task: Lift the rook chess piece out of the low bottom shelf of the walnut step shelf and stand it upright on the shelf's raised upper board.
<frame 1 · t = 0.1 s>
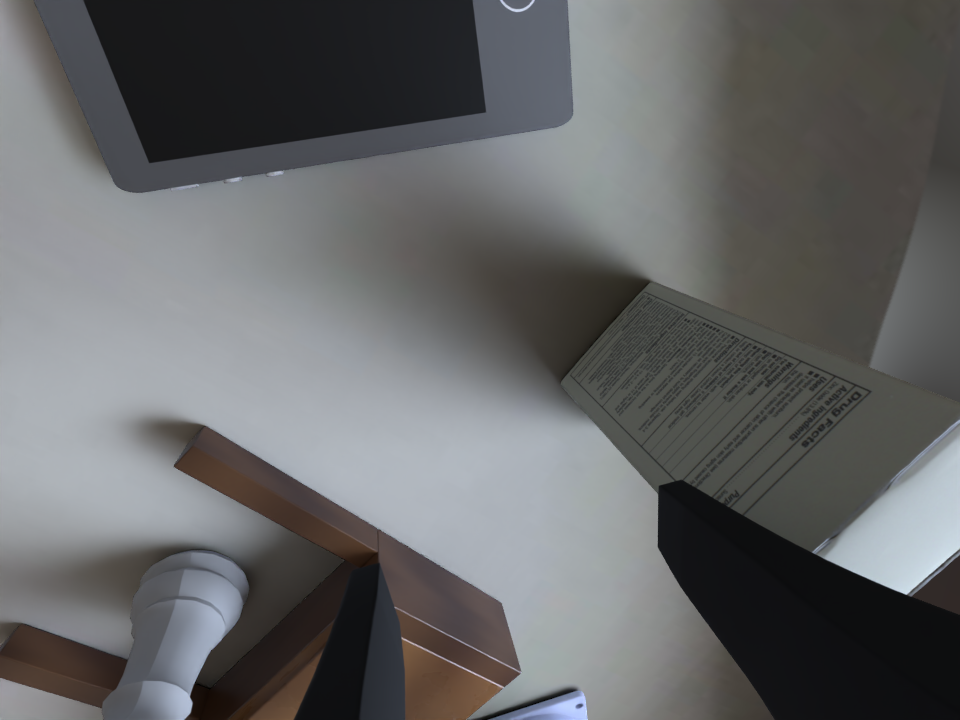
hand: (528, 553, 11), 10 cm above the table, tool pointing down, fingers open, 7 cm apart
cosmetic box: (631, 353, 22), on the table, touching gripper
rook chess piece: (200, 578, 22), on the table
smartphone: (327, 19, 15), on the table
step shelf: (282, 618, 24), on the table
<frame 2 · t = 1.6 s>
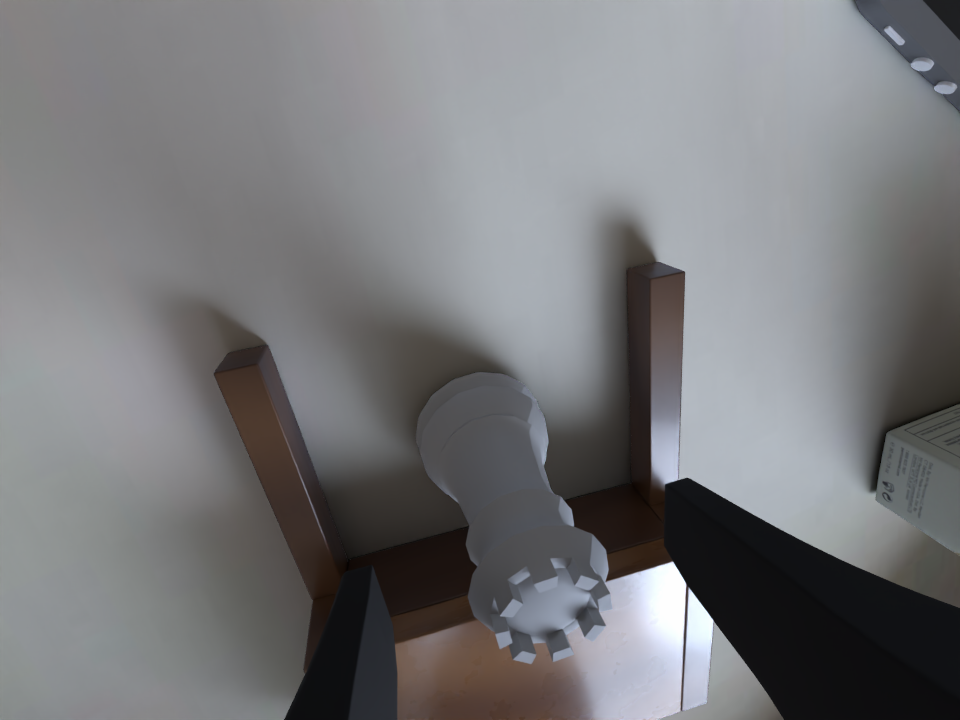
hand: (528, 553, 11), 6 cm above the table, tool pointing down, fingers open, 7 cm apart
cosmetic box: (929, 442, 23), on the table
rook chess piece: (476, 420, 17), on the table
step shelf: (494, 518, 19), on the table
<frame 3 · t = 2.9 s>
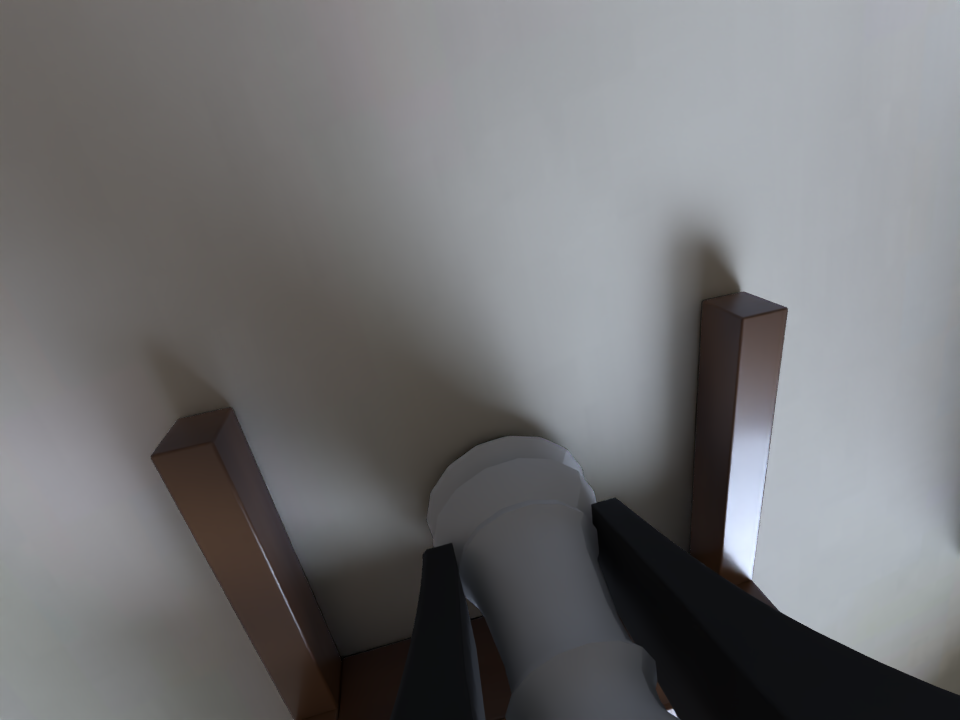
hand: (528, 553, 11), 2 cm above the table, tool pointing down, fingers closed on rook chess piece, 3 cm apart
rook chess piece: (502, 489, 13), on the table, touching gripper
step shelf: (523, 603, 15), on the table
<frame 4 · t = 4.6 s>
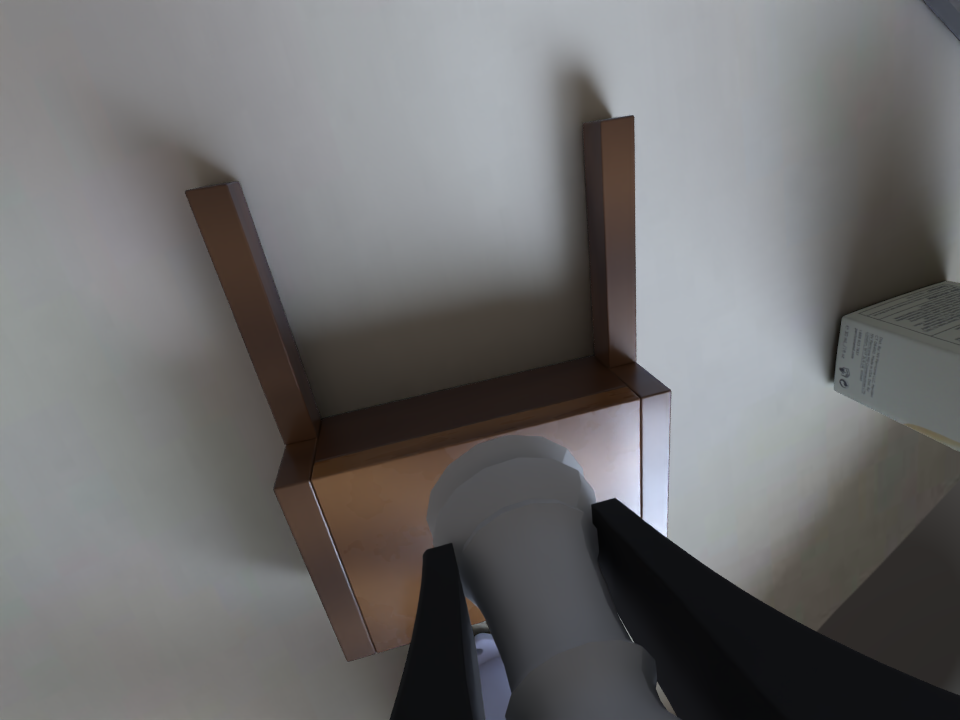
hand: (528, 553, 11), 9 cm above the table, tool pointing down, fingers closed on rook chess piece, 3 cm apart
cosmetic box: (885, 333, 24), on the table
rook chess piece: (502, 489, 13), point 7 cm above the table, touching gripper
step shelf: (462, 385, 20), on the table
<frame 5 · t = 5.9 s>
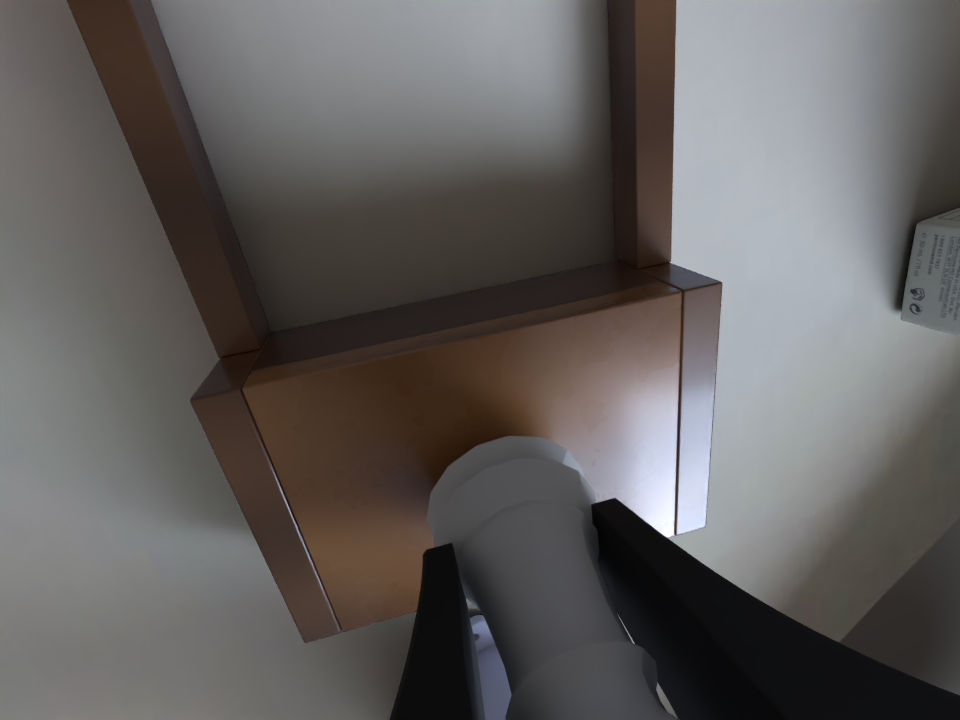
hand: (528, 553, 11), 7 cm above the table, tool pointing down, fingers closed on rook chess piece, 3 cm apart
rook chess piece: (502, 490, 13), point 5 cm above the table, touching gripper
step shelf: (451, 294, 16), on the table
when the fingers open (6 cm above the table, at t = 6.5 s): rook chess piece stays where it is, resting on step shelf.
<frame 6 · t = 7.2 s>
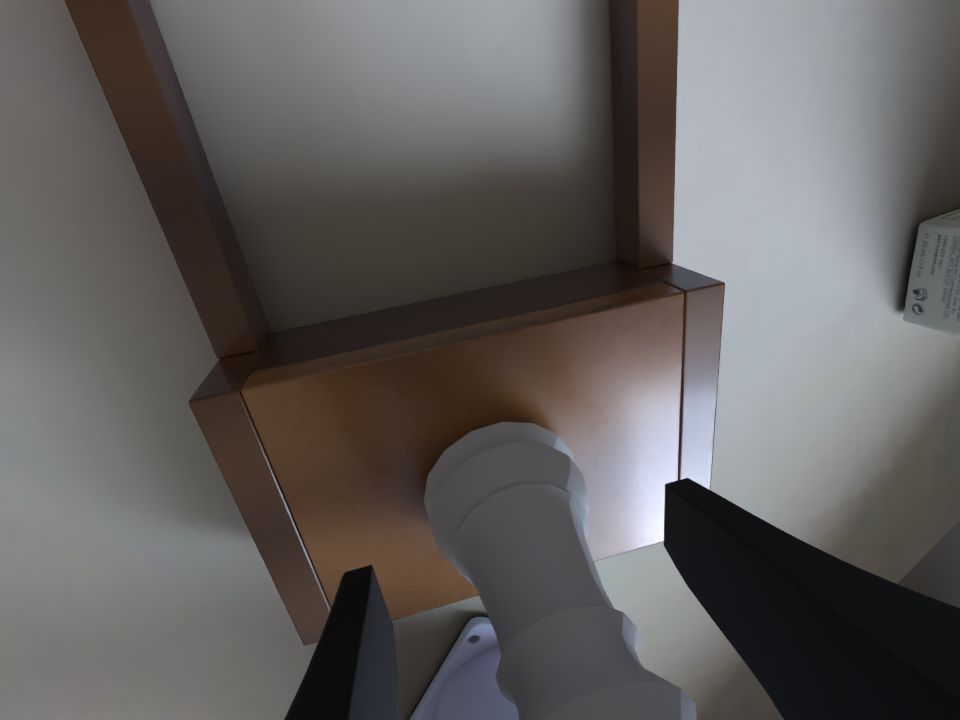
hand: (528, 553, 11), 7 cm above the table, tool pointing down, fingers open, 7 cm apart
rook chess piece: (496, 475, 14), point 4 cm above the table, touching step shelf
step shelf: (451, 295, 16), on the table
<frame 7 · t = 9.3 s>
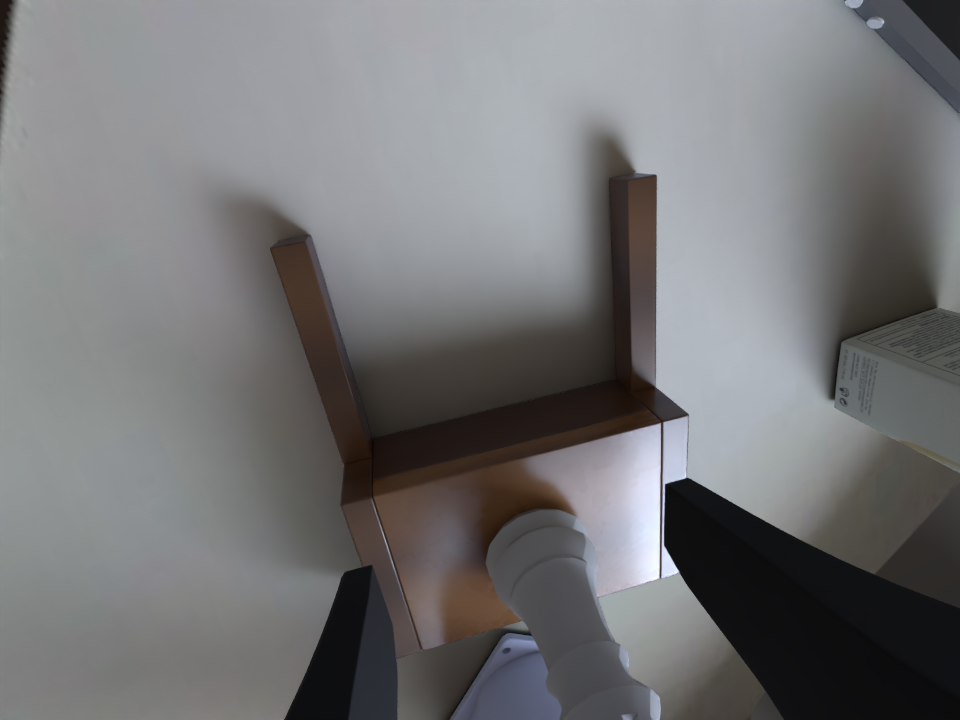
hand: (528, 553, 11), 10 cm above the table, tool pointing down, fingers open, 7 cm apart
cosmetic box: (882, 355, 26), on the table
rook chess piece: (533, 540, 20), point 4 cm above the table, touching step shelf
step shelf: (498, 407, 22), on the table
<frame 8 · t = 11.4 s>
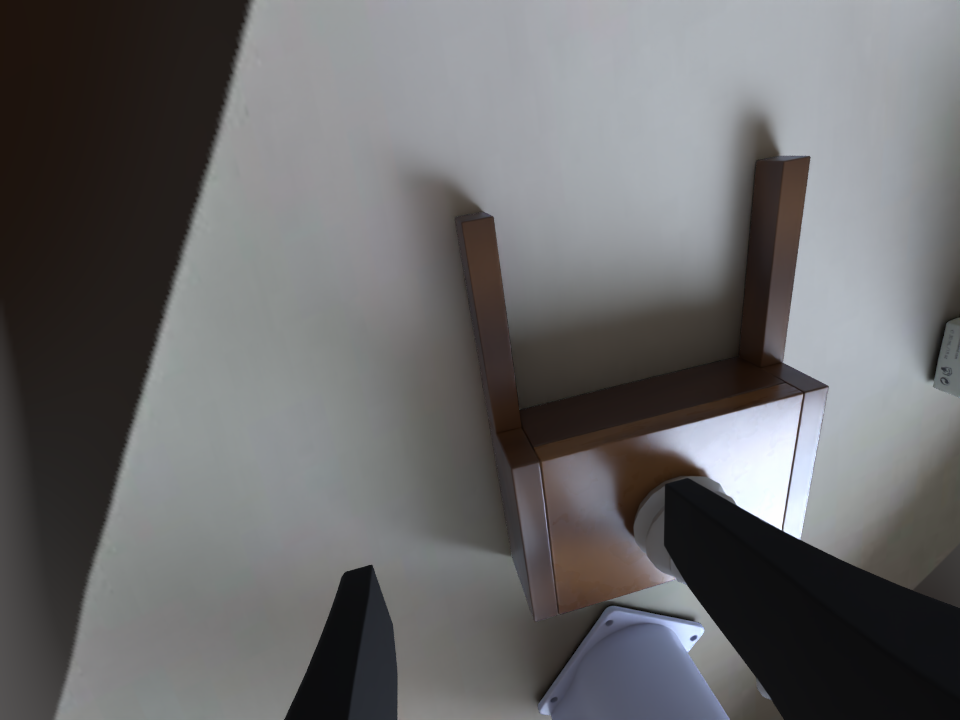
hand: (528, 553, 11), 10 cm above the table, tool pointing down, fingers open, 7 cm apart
rook chess piece: (671, 507, 21), point 4 cm above the table, touching step shelf
step shelf: (629, 382, 23), on the table
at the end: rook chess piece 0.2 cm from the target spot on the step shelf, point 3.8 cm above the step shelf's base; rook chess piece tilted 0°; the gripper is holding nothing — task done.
